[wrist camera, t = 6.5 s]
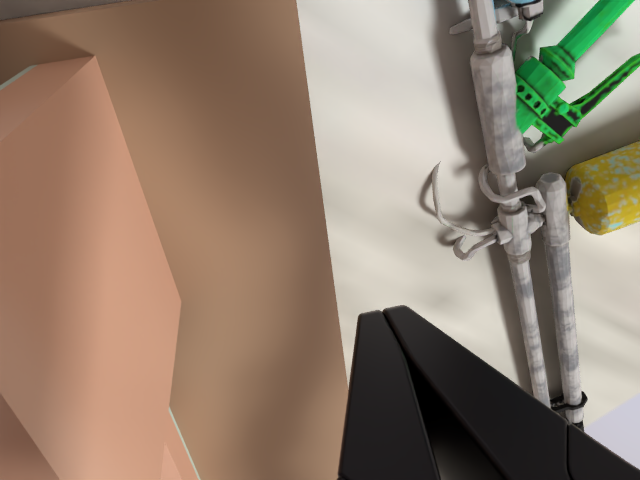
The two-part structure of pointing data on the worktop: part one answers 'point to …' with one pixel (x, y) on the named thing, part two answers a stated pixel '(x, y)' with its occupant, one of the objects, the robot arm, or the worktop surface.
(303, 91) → the board
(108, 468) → the tile
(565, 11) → the worktop surface
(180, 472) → the tile
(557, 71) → the flamethrower
